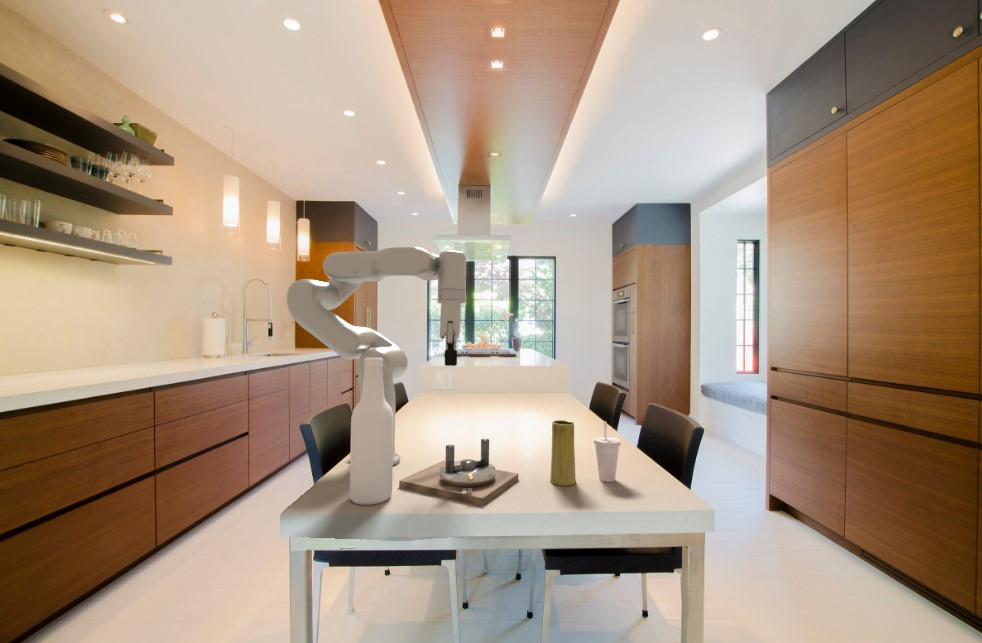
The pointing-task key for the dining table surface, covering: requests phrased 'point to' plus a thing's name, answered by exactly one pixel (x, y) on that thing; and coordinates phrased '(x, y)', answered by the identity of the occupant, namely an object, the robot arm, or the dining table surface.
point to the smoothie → (607, 456)
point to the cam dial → (468, 469)
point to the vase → (563, 453)
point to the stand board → (477, 495)
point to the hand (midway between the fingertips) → (450, 365)
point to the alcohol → (371, 440)
